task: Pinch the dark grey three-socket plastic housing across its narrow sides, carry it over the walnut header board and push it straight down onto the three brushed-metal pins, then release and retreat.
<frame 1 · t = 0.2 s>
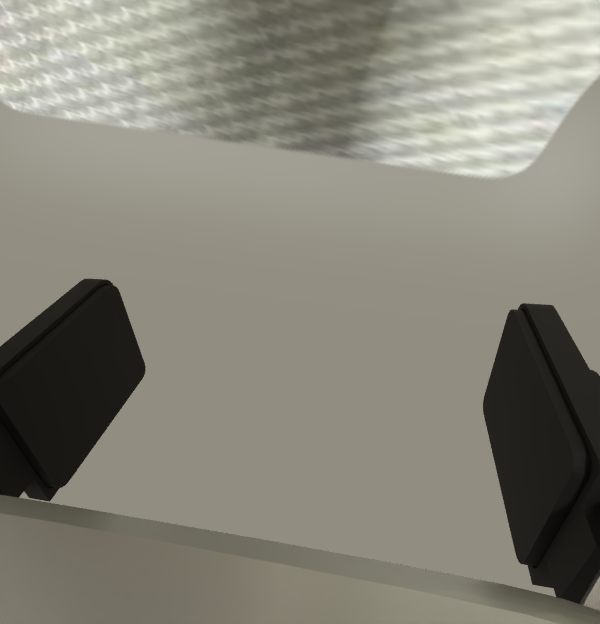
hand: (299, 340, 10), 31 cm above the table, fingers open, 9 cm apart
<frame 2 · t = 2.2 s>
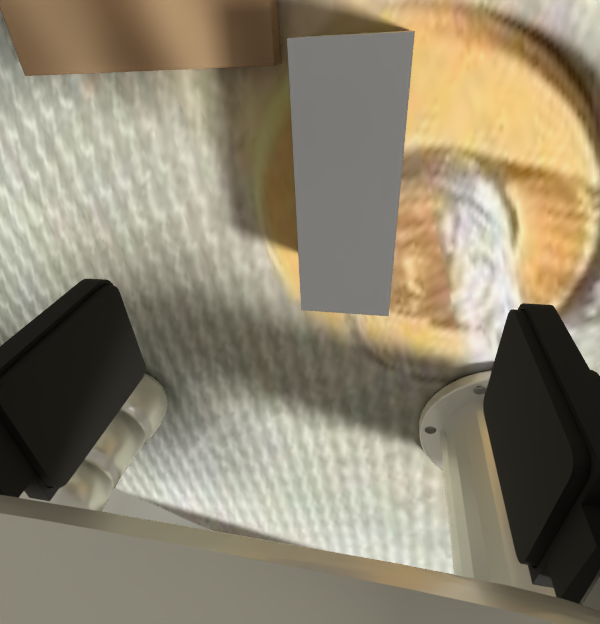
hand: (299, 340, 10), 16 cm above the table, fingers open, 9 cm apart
housing: (356, 164, 23), on the table
plastic bottle: (143, 384, 38), on the table
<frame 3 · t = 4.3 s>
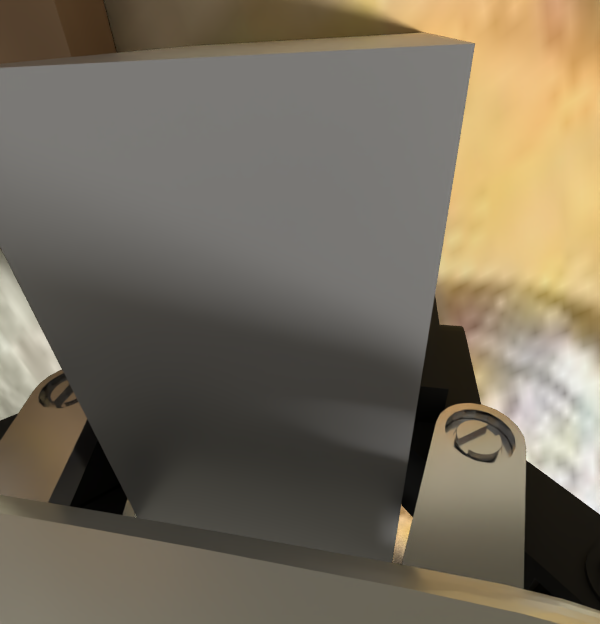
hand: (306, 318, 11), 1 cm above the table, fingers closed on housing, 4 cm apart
housing: (311, 302, 11), on the table, touching gripper
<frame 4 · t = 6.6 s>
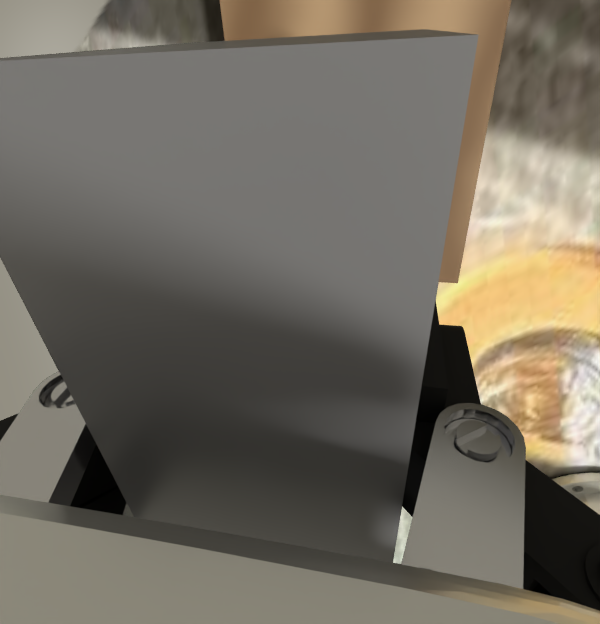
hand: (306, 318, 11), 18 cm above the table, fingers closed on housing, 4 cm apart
header board: (356, 151, 25), on the table
housing: (311, 302, 11), point 17 cm above the table, touching gripper
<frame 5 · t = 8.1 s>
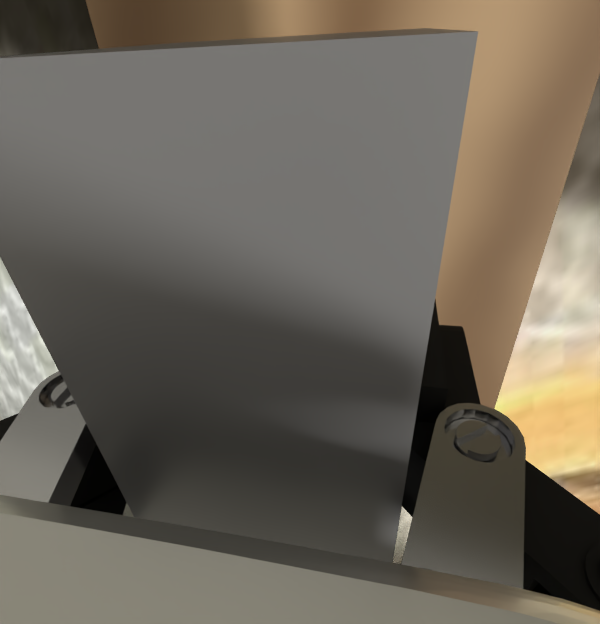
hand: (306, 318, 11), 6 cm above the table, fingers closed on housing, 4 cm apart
header board: (335, 225, 16), on the table
housing: (311, 301, 11), point 6 cm above the table, touching gripper
when the fingers open (3 cm above the table, at t = 9.1 s): housing stays where it is, resting on header board.
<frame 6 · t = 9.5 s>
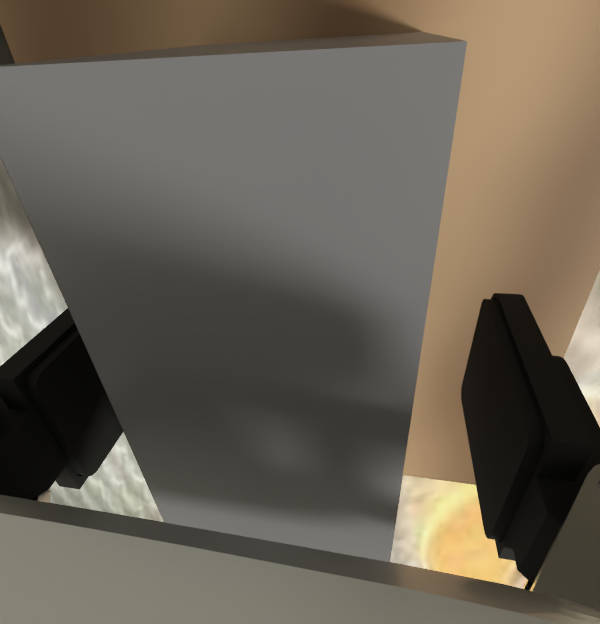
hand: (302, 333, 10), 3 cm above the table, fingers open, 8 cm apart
header board: (321, 268, 13), on the table
housing: (315, 293, 12), point 1 cm above the table, touching header board
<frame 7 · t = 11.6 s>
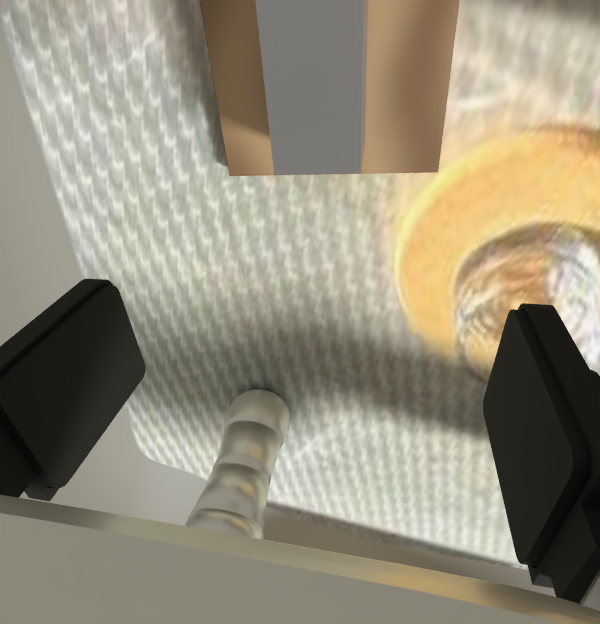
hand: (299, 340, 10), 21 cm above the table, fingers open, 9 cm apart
header board: (327, 28, 24), on the table
housing: (325, 29, 23), point 1 cm above the table, touching header board
plastic bottle: (264, 400, 45), on the table
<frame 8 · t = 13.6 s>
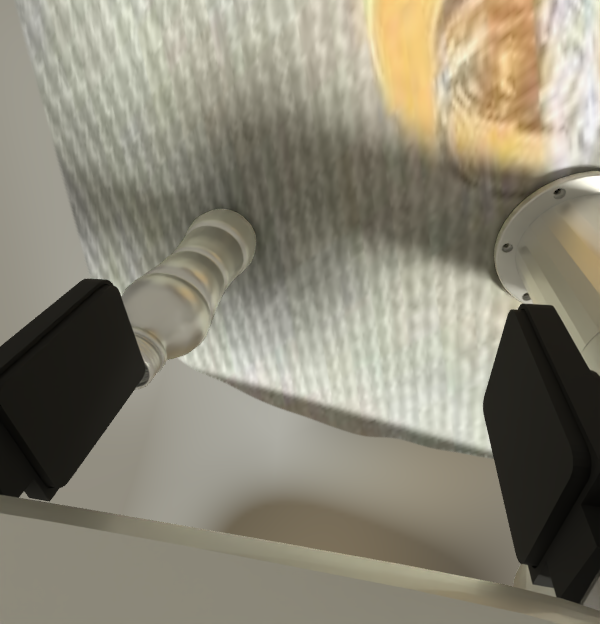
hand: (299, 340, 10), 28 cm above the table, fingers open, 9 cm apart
plastic bottle: (230, 232, 41), on the table
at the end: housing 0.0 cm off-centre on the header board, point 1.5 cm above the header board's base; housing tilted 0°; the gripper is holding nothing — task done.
